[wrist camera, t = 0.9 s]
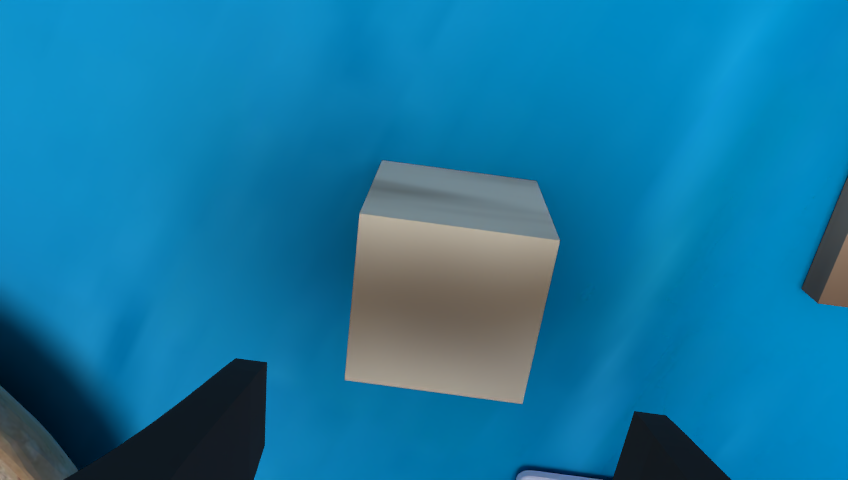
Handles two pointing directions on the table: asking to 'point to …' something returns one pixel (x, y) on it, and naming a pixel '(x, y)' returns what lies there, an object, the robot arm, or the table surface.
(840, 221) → the walnut board
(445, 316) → the ash cube
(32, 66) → the table surface
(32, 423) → the ceramic bowl
